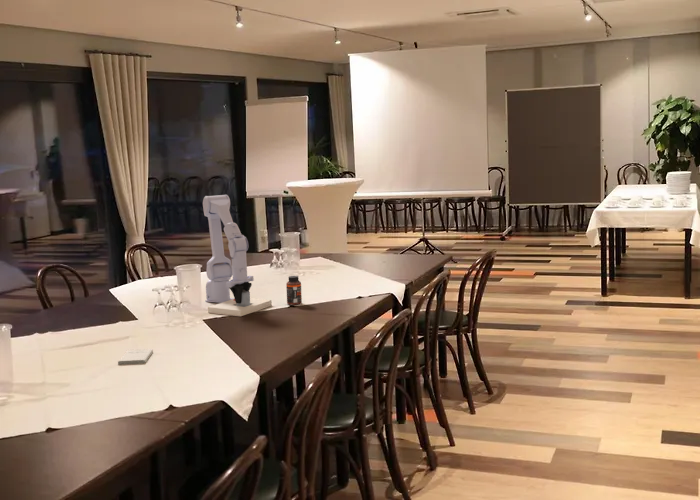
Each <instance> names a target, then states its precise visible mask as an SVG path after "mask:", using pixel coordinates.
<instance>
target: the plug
mask: <svg viewBox="0 0 700 500" xmlns="http://www.w3.org/2000/svg"><path fill="white" fill-rule="evenodd" d="M250 293H251V292H250V291H249V292H248V291H245V290H242V300H241V303H237V306H241V307H246V306H249V305H250V298H251V294H250Z"/></svg>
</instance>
